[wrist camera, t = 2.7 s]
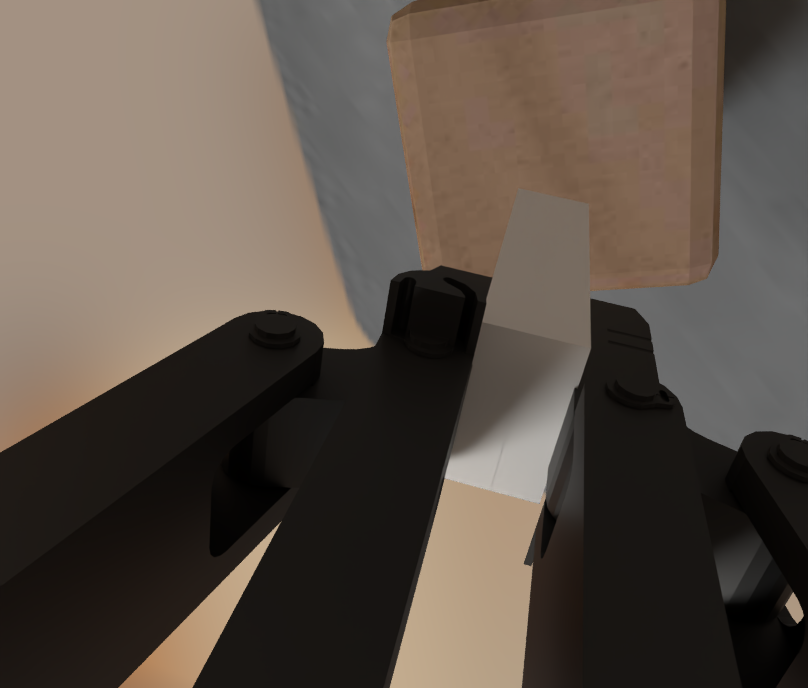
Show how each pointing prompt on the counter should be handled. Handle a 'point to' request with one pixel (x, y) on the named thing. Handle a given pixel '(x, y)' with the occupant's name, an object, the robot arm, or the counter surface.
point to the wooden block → (565, 127)
